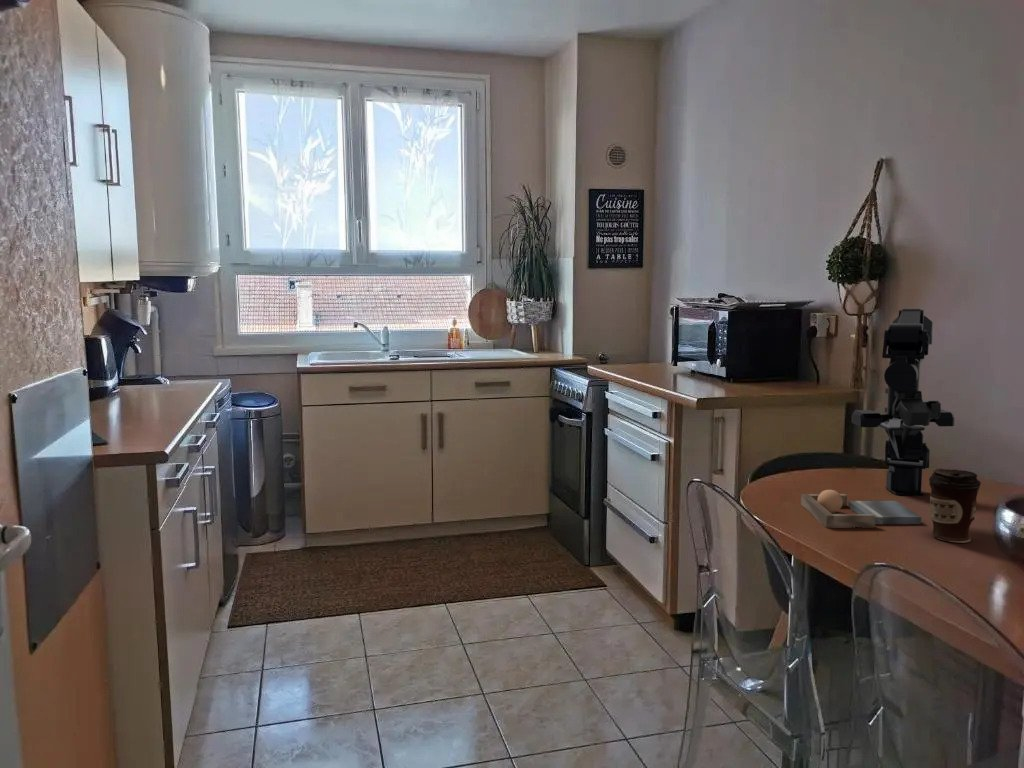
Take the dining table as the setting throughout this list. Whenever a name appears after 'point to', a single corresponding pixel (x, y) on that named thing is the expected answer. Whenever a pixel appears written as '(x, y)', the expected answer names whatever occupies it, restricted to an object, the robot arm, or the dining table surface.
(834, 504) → the ball
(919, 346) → the robot arm
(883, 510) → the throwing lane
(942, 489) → the coffee cup
